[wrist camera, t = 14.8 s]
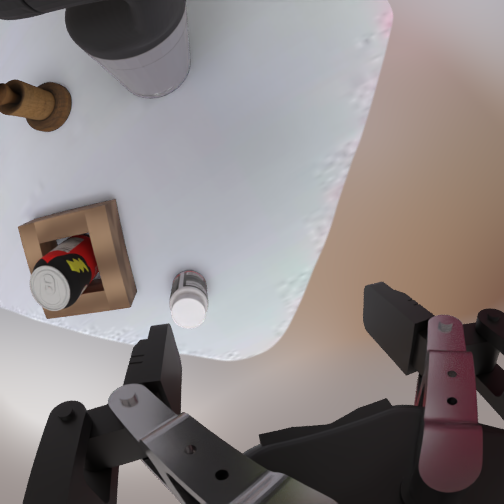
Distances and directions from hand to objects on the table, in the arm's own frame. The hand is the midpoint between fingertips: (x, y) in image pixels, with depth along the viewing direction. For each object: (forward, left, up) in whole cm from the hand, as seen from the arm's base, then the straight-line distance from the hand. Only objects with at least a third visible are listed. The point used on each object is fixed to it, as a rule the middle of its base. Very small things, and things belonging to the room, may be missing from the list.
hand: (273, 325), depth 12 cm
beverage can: (+3, -20, -30) cm, 36 cm away
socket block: (+3, -20, -30) cm, 36 cm away
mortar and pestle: (-18, -21, -30) cm, 41 cm away
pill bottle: (+10, -6, -30) cm, 32 cm away
